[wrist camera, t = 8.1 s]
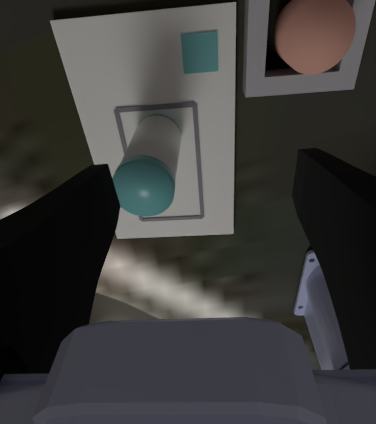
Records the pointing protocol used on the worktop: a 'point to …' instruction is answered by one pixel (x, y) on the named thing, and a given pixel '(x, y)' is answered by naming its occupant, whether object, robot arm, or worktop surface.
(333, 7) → the button
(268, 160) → the worktop surface
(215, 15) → the picture card
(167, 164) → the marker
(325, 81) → the button housing
